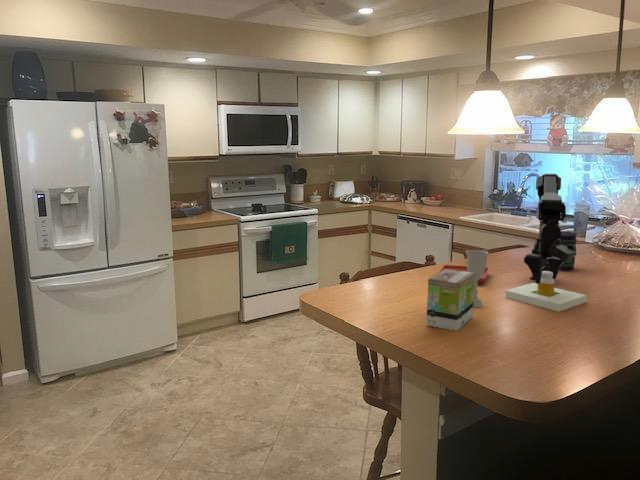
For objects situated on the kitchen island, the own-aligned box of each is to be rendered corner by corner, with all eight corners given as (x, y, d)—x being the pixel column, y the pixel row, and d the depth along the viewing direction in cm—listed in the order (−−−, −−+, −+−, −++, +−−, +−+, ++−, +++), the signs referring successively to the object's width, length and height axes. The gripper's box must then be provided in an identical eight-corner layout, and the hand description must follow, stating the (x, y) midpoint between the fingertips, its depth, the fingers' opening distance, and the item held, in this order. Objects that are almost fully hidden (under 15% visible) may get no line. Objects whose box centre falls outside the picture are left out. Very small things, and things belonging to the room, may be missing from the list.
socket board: (505, 297, 188) (505, 290, 187) (532, 289, 197) (532, 282, 196) (559, 311, 172) (559, 304, 171) (585, 302, 181) (586, 295, 180)
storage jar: (575, 267, 228) (578, 232, 225) (572, 272, 220) (575, 236, 217) (550, 264, 233) (552, 230, 230) (546, 269, 225) (548, 234, 222)
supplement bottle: (555, 302, 181) (557, 274, 179) (538, 301, 182) (539, 273, 180) (551, 297, 186) (553, 270, 184) (535, 297, 187) (536, 270, 185)
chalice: (486, 302, 182) (489, 250, 178) (485, 308, 176) (488, 254, 172) (464, 301, 184) (466, 249, 181) (462, 306, 178) (464, 253, 174)
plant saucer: (436, 283, 209) (436, 274, 208) (443, 272, 225) (443, 264, 224) (485, 287, 202) (485, 278, 201) (488, 275, 219) (489, 267, 218)
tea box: (458, 332, 155) (460, 282, 153) (425, 326, 161) (426, 278, 158) (473, 317, 168) (475, 271, 165) (442, 312, 173) (443, 267, 170)
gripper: (555, 243, 168) (552, 291, 171) (587, 236, 179) (584, 281, 182) (524, 238, 177) (521, 284, 180) (556, 231, 188) (553, 275, 190)
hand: (546, 281), depth 183 cm, fingers open, 9 cm apart
